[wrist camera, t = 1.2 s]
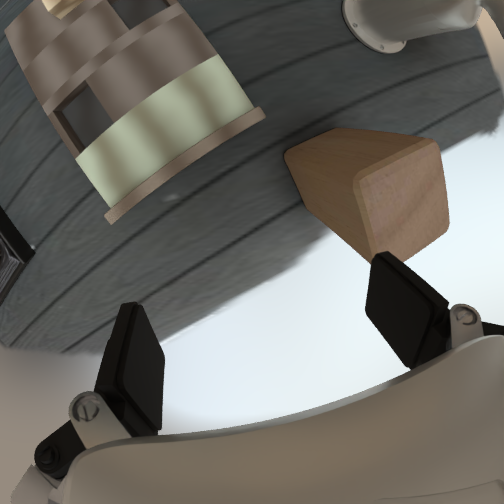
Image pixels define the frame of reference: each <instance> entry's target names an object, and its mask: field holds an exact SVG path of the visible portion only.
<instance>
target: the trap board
mask: <svg viewBox="0 0 504 504" xmlns="http://www.w3.org/2000/svg"><path fill="white" fill-rule="evenodd" d="M5 34H6V36H7V38H8V41H9V43H10V45H11V47H12V50H13V52H14V54H15V56H16V58H17V60H18V62H19V64H20V67H21V69H22V71H23V72H24V74H25V76H26V78H27V80H28V82H29V84H30V86H31V88H32V90H33V91H34V93H35V95H36V97H37V99H38V100H39V102H40V104H41V106H42V107H43V109H44V111H45V112H46V114H47V116H48V117H49V119H50V121H51V122H52V124H53V126H54V127H55V129H56V130H57V132H58V134H59V135H60V137H61V138H62V140H63V141H64V143H65V144H66V146H67V148H68V149H69V151H70V152H71V154H72V155H73V157H74V158H75V159H76V161H77V162H78V164H79V165H80V167H81V168H82V170H83V171H84V172H85V174H86V175H87V177H88V178H89V179H90V181H91V182H92V184H93V185H94V186H95V188H96V189H97V190H98V192H99V193H100V195H101V196H102V197H103V199H104V200H105V201H106V203H107V204H108V205H109V206H110V208H111V209H110V210H109V211H108V212H107V213H106V214H105V215H104V216H105V218H106V219H107V220H108V222H109V223H110V224H111V225H112V224H113V223H114V222H115V221H116V220H117V219H119V218H120V217H121V216H122V215H123V214H125V213H126V212H127V211H128V210H130V209H131V208H132V207H133V206H135V205H136V204H137V203H138V202H140V201H141V200H142V199H143V198H145V197H146V196H147V195H149V194H150V193H151V192H152V191H154V190H155V189H156V188H158V187H159V186H160V185H162V184H163V183H165V182H166V181H167V180H169V179H170V178H171V177H173V176H174V175H176V174H177V173H178V172H180V171H181V170H183V169H184V168H185V167H187V166H188V165H190V164H191V163H193V162H194V161H196V160H197V159H199V158H200V157H202V156H203V155H205V154H206V153H208V152H209V151H211V150H212V149H214V148H215V147H217V146H219V145H220V144H222V143H223V142H225V141H227V140H228V139H230V138H231V137H233V136H235V135H236V134H238V133H240V132H241V131H243V130H245V129H246V128H248V127H250V126H252V125H253V124H255V123H257V122H259V121H260V120H262V119H264V118H266V116H265V114H264V113H263V111H262V109H261V108H260V106H259V107H256V108H254V107H253V105H252V103H251V102H250V100H249V99H248V97H247V96H246V94H245V93H244V91H243V90H242V88H241V87H240V85H239V84H238V82H237V81H236V79H235V78H234V76H233V75H232V73H231V72H230V70H229V69H228V67H227V66H226V65H225V63H224V62H223V60H222V59H221V57H220V56H219V55H218V53H217V52H216V50H215V49H214V48H213V46H212V45H211V44H210V42H209V41H208V40H207V38H206V37H205V36H204V34H203V33H202V32H201V30H200V29H199V28H198V26H197V25H196V24H195V22H194V21H193V20H192V19H191V17H190V16H189V15H188V14H187V12H186V11H185V10H184V9H183V7H182V6H181V5H180V4H179V3H178V1H177V0H84V1H83V2H82V3H80V4H79V5H78V6H76V7H75V8H74V9H73V10H71V11H70V12H69V13H68V14H67V15H65V16H64V17H63V18H62V19H61V20H60V19H59V18H57V17H56V16H54V15H53V14H51V13H50V12H48V10H47V9H46V7H45V5H44V3H43V2H42V0H34V1H33V2H32V3H31V4H30V5H29V6H28V7H26V8H25V9H24V10H23V11H22V12H21V13H20V14H19V15H18V16H17V18H16V19H15V20H14V21H13V22H12V23H11V24H10V25H9V26H8V27H7V28H6V29H5Z"/></svg>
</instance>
